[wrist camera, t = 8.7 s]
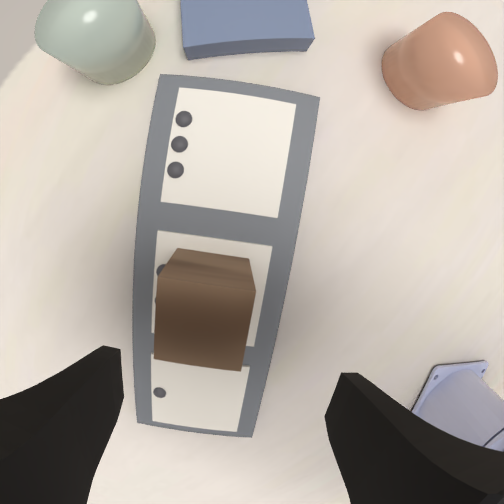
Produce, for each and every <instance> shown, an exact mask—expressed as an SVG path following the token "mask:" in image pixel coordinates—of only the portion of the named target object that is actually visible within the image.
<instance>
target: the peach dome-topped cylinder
mask: <svg viewBox="0 0 504 504" xmlns="http://www.w3.org/2000/svg"><path fill="white" fill-rule="evenodd" d="M382 73H383V77H384V80H385V82H386V84H387V86H388V88H389V89H390V91H391V92H392V94H393V95H394V96H395V97H396V98H397V99H398V100H399V101H400V102H402V103H403V104H404V105H406V106H408V107H410V108H412V109H415V110H427V109H431V108H435V107H439V106H443V105H448V104H452V103H456V102H460V101H465V100H470V99H474V98H479V97H484V96H488V95H489V94H491V93H492V92H493V91H494V89H495V87H496V85H497V79H498V71H497V65H496V61H495V57H494V55H493V52H492V50H491V48H490V46H489V44H488V42H487V41H486V39H485V38H484V36H483V35H482V34H481V32H480V31H479V30H478V29H477V28H476V27H475V26H474V25H473V24H472V23H471V22H470V21H468V20H467V19H465V18H464V17H462V16H460V15H458V14H456V13H452V12H443V13H440V14H438V15H437V16H435V17H433V18H432V19H430V20H429V21H427V22H426V23H424V24H423V25H421V26H420V27H418V28H417V29H415V30H414V31H412V32H411V33H409V34H408V35H406V36H405V37H403V38H402V39H400V40H399V41H397V42H396V43H395V44H393V45H392V46H390V47H389V48H388V49H387V50H386V51H385V53H384V55H383V58H382Z"/></svg>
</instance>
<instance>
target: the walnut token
mask: <svg viewBox="0 0 504 504" xmlns="http://www.w3.org/2000/svg"><path fill="white" fill-rule="evenodd" d="M255 295H256V288H255V284H254V279H253V274H252V270H251V265H250V260H249V258H243V257H236V256H229V255H222V254H215V253H209V252H202V251H195V250H189V249H182V248H177V249H176V251H175V252H174V254H173V255H172V256H171V258H170V259H169V261H168V262H167V264H166V265H165V267H164V268H163V269H162V271H161V272H160V274H159V275H158V277H157V291H156V307H155V327H154V359H156V360H161V361H167V362H173V363H179V364H185V365H192V366H199V367H206V368H213V369H221V370H230V371H239V372H241V369H242V364H243V358H244V353H245V348H246V343H247V338H248V332H249V327H250V322H251V317H252V311H253V306H254V301H255Z"/></svg>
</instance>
